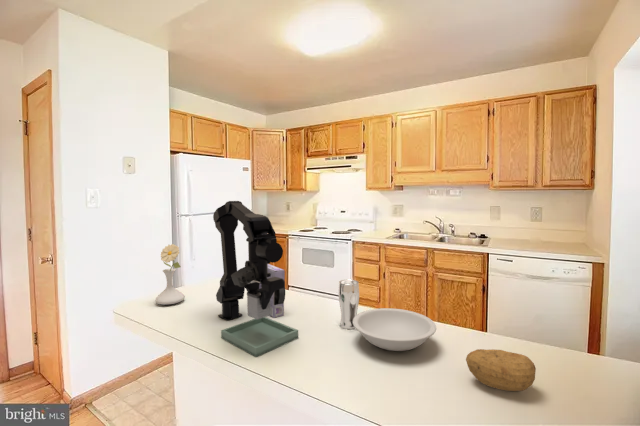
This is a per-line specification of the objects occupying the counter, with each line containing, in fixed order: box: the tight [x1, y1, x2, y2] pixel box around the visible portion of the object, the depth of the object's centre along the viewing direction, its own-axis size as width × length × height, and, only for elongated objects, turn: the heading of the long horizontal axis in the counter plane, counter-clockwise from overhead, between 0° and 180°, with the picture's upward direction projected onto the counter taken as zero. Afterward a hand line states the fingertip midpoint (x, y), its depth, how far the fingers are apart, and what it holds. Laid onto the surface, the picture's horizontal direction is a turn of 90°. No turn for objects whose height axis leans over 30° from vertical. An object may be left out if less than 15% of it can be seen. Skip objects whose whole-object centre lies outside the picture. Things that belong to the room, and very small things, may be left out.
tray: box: [220, 316, 299, 358], centre depth 100 cm, size 18×16×2 cm
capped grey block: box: [246, 290, 271, 320], centre depth 100 cm, size 5×5×7 cm
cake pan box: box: [259, 263, 286, 319], centre depth 124 cm, size 19×5×18 cm, turn 38°
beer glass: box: [338, 279, 360, 330], centre depth 109 cm, size 7×7×15 cm
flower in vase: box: [154, 243, 186, 306], centre depth 134 cm, size 13×11×25 cm
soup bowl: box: [353, 307, 437, 352], centre depth 95 cm, size 24×24×7 cm
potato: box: [465, 348, 537, 392], centre depth 74 cm, size 10×14×8 cm
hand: (259, 307), depth 100 cm, fingers closed on capped grey block, 5 cm apart
